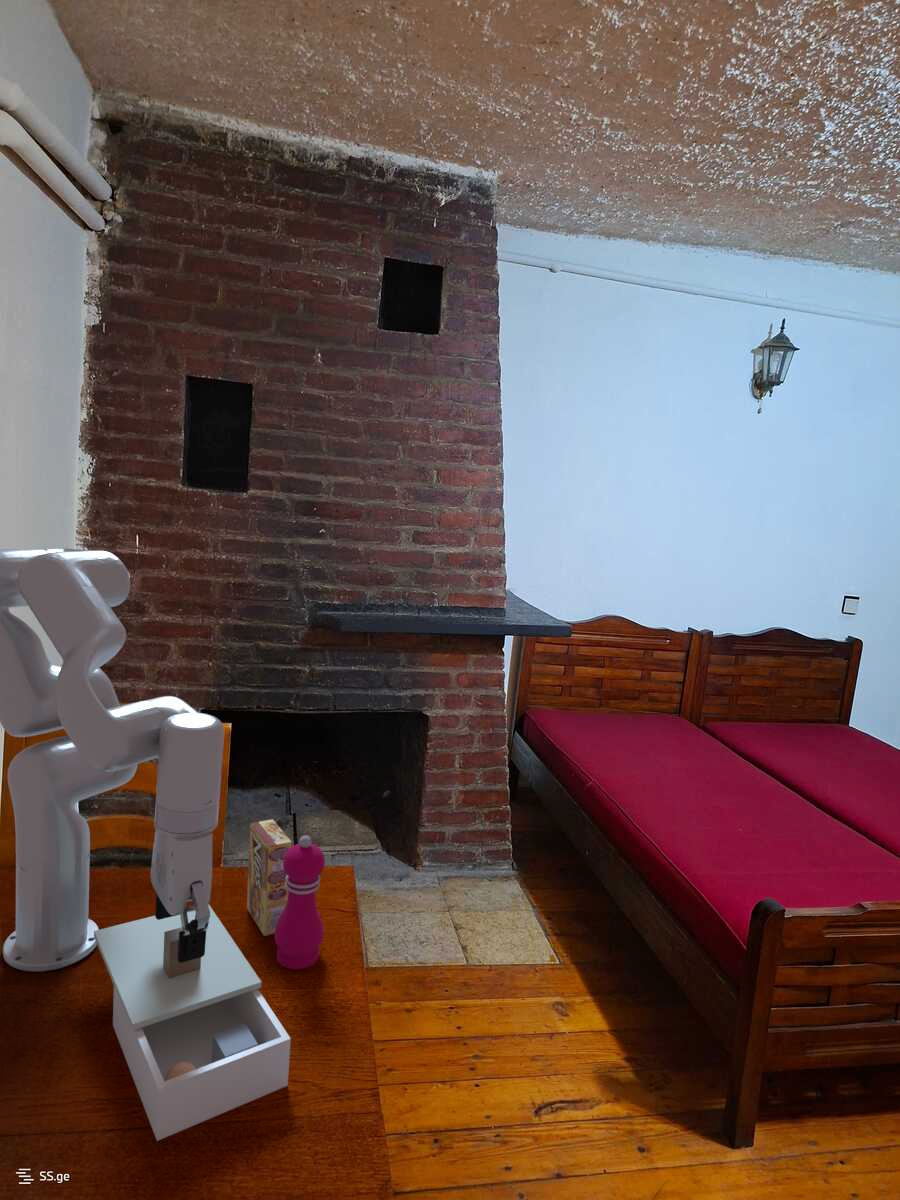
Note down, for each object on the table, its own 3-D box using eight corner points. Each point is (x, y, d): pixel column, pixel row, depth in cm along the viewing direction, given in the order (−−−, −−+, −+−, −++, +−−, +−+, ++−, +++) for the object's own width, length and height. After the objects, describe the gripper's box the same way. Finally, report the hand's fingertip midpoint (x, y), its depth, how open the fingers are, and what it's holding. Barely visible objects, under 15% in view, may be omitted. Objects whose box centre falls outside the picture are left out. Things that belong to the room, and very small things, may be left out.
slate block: (211, 1064, 92) (213, 1034, 92) (243, 1052, 95) (245, 1023, 94) (223, 1086, 89) (225, 1056, 89) (256, 1073, 92) (257, 1044, 91)
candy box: (288, 931, 122) (294, 841, 119) (262, 937, 119) (268, 846, 117) (268, 903, 129) (274, 818, 127) (244, 909, 127) (249, 822, 124)
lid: (93, 936, 104) (94, 897, 103) (207, 907, 114) (208, 871, 113) (132, 1030, 88) (133, 985, 87) (261, 987, 97) (263, 945, 96)
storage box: (112, 1030, 97) (114, 980, 96) (227, 992, 106) (229, 946, 105) (156, 1147, 82) (158, 1089, 81) (287, 1091, 91) (290, 1038, 89)
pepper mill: (278, 979, 110) (286, 850, 107) (268, 950, 117) (276, 827, 113) (326, 970, 113) (336, 844, 110) (315, 942, 119) (323, 822, 116)
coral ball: (160, 1088, 88) (161, 1061, 88) (191, 1076, 90) (192, 1049, 90) (169, 1110, 85) (170, 1082, 85) (201, 1098, 87) (202, 1070, 87)
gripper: (137, 789, 100) (131, 908, 103) (177, 851, 86) (168, 986, 89) (195, 781, 104) (187, 895, 107) (241, 838, 91) (231, 967, 93)
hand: (178, 936), depth 98 cm, fingers open, 9 cm apart
